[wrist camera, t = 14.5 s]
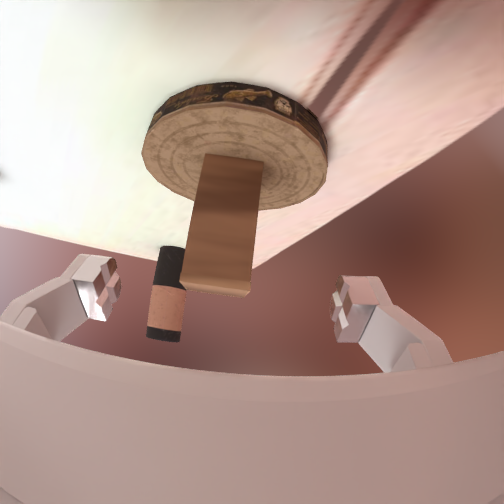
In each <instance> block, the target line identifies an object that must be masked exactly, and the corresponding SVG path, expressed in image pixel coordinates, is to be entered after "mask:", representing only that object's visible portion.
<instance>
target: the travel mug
mask: <svg viewBox="0 0 504 504" xmlns="http://www.w3.org/2000/svg"><path fill="white" fill-rule="evenodd" d="M184 255H185V249H183V248H179V247H173V246H163V247H161V248H160V252H159V257H158V261H157V266H156V271H155V276H154V281H153V287H152V293H151V301H150V309H149V316H148V325H147V334H146V337H148V338H152V339H156V340H161V341H169V342H179V341H180V335H181V327H182V319H183V312H184V305H185V298H186V289H185V287H184V286H183V285H182V284H181V283H180V281H179V280H180V273H181V272H182V266H183V260H184Z"/></svg>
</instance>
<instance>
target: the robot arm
mask: <svg viewBox="0 0 504 504" xmlns="http://www.w3.org/2000/svg"><path fill="white" fill-rule="evenodd" d="M116 269H117V264H116V260H115V259H114V258H113V257H105V256H97V255H88V254H80V255H78V256H77V258H76V259H75V260H74V261H73V262H72V263H71V264H70V266H69V267H68V268H67V269H66V270H65V272H64V273H63V274H62V275H61V276H60V277H56V278H54V279H52V280H50V281H48V282H46V283H44V284H42V285H40V286H39V287H37V288H35V289H33V290H31V291H29V292H27V293H25V294H24V295H22V296H20V297H18V298H17V299H15V300H13V301H12V302H11V303H10V304H9V306H8V307H7V308H6V309H5V311H4V312H3V314H2V315H1V316H0V504H504V351H502V352H499V353H495V354H491V355H487V356H483V357H479V358H475V359H471V360H465V361H461V362H455V363H453V361H452V359H451V357H450V355H449V353H448V351H447V349H446V347H445V345H444V343H443V341H442V339H440V338H439V337H438V336H436V335H435V334H434V333H433V332H431V331H430V330H429V329H427V328H426V327H425V326H423V325H422V324H421V323H420V322H418V321H417V320H415V319H414V318H413V317H412V316H410V315H409V314H407V313H406V312H405V311H403V310H402V309H401V308H399V307H398V306H397V305H393V304H392V302H391V300H390V298H389V296H388V294H387V292H386V290H385V288H384V286H383V284H382V282H381V280H380V279H379V278H378V277H371V276H365V277H359V276H339V277H338V279H337V282H336V288H337V291H336V292H335V293H333V294H332V298H331V302H330V315H331V319H332V320H333V321H334V322H335V326H334V332H335V336H336V340H337V342H359V345H360V346H361V347H362V348H363V349H364V350H365V351H366V352H367V353H368V355H369V356H370V357H371V358H372V359H373V360H374V361H375V362H376V364H377V365H378V366H379V367H380V368H381V369H382V370H383V371H384V373H376V374H363V375H346V376H312V377H311V376H309V377H299V376H297V377H296V376H291V377H290V376H261V375H244V374H230V373H219V372H210V371H201V370H193V369H185V368H177V367H171V366H164V365H158V364H153V363H147V362H141V361H136V360H131V359H126V358H121V357H117V356H112V355H107V354H103V353H99V352H95V351H91V350H87V349H84V348H80V347H76V346H73V345H69V344H65V343H62V342H60V341H61V340H62V339H63V338H65V337H66V336H67V335H68V334H70V333H71V332H72V331H73V330H75V329H76V328H77V327H78V326H80V325H81V324H82V323H83V322H85V321H86V320H87V319H88V318H91V319H97V320H103V321H106V320H107V319H108V317H109V315H110V313H111V311H112V309H113V308H112V305H111V304H113V303H114V302H116V301H117V300H118V298H119V296H120V292H121V280H120V277H119V276H118V275H117V273H116V272H115V271H116Z"/></svg>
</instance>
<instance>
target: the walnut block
mask: <svg viewBox="0 0 504 504" xmlns="http://www.w3.org/2000/svg"><path fill="white" fill-rule="evenodd" d="M263 164H264V162H262V161H256V160H250V159H244V158H237V157H230V156H222V155H214V154H206V153H205V156H204V161H203V165H202V169H201V174H200V178H199V183H198V187H197V192H196V197H195V202H194V207H193V211H192V217H191V222H190V227H189V232H188V238H187V243H186V249H185V255H184V260H183V266H182V272H181V273H180V280H179V281H180V283H181V284H182V285H183V286H184V287H185V289H186V290H191V291H197V292H205V293H211V294H219V295H226V296H234V297H242V298H244V297H245V296H246V295H247V294H248V292H250V287H251V282H250V280H251V271H252V262H253V253H254V244H255V235H256V226H257V217H258V208H259V200H260V191H261V182H262V173H263Z"/></svg>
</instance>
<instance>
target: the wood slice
mask: <svg viewBox="0 0 504 504" xmlns="http://www.w3.org/2000/svg"><path fill="white" fill-rule="evenodd" d="M318 119H319V118H318V117H317V116H316V115H315V114H314V113H313V112H312V111H311V110H310V109H309V108H307V109H305V108H304V107H303V106H302V105H300V104H299V103H298V102H296V101H294V100H292V99H290V98H288V97H286V96H284V95H282V94H280V93H278V92H275V91H273V90H271V89H269V88H266V87H260V86H255V85H249V84H243V83H236V82H223V83H213V84H205V85H197V86H194V87H192V88H190V89H187V90H185V91H183V92H181V93H178V94H176V95H174V96H172V97H170V98H169V99H168V100H167V101H166V102H165V103H164V104H163V105H162V106H161V107H160V108H159V109H158V110H157V111H156V112H155V114H154V116H153V119H152V121H151V124H150V126H149V129H148V131H147V134H146V137H145V140H144V144H143V148H142V153H141V154H142V157H143V160H144V163H145V166H146V169H147V170H148V171H149V172H150V173H151V175H152V176H153V177H154V178H155V179H156V180H157V181H158V182H159V183H161V184H162V185H164V186H165V187H167V188H168V189H170V190H171V191H173V192H174V193H177V194H179V195H181V196H184V197H186V198H188V199H190V200H193V201H195V197H196V192H197V187H198V183H199V178H200V174H201V169H202V165H203V161H204V156H205V153H206V154H214V155H222V156H230V157H237V158H244V159H250V160H256V161H262V162H264V164H263V173H262V182H261V191H260V200H259V208H258V211H260V210H269V209H279V208H284V207H287V206H291V205H294V204H298V203H301V202H302V201H304V200H306V199H308V198H310V197H311V196H313V195H315V194H316V193H317V192H318V190H319V189H320V188H321V187H322V186H323V184H324V183H325V181H326V174H327V167H328V161H327V141H326V138H325V136H324V133H323V131H322V129H321V127H320V124H319V122H318V121H317V120H318Z"/></svg>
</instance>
